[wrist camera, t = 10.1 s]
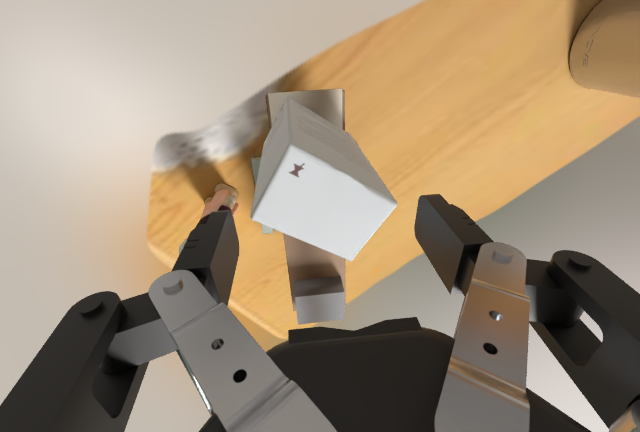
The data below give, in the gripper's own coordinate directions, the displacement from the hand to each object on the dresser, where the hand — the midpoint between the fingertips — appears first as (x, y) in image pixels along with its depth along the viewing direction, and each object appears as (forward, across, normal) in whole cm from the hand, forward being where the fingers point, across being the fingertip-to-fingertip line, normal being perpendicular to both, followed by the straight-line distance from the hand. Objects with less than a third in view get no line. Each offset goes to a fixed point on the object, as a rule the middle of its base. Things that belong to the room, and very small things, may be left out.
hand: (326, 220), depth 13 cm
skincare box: (+13, 0, 0) cm, 13 cm away
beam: (+15, 0, +9) cm, 17 cm away
